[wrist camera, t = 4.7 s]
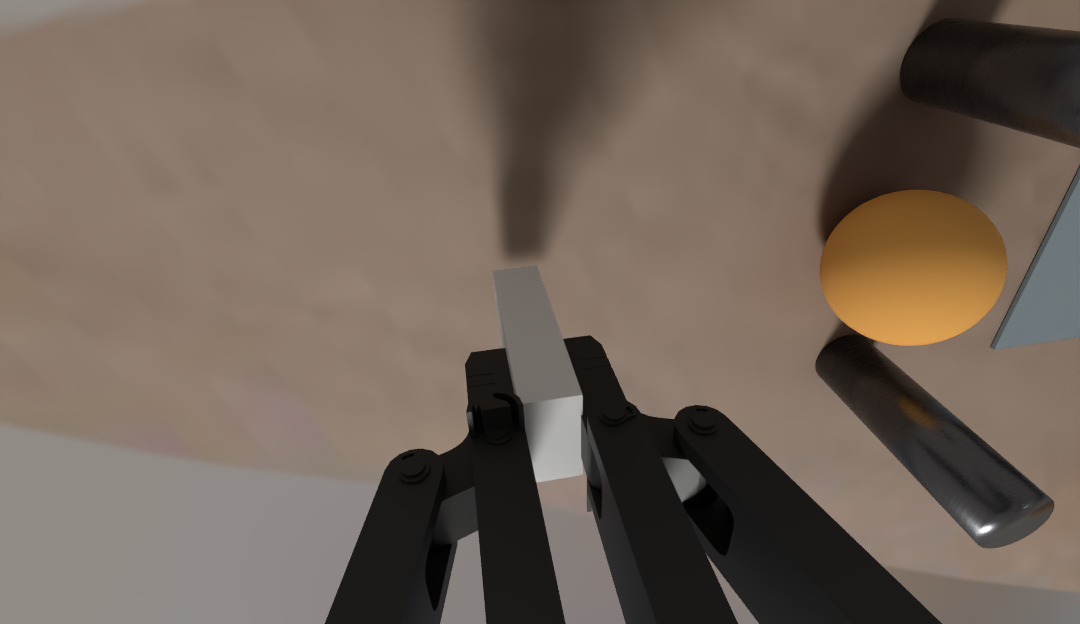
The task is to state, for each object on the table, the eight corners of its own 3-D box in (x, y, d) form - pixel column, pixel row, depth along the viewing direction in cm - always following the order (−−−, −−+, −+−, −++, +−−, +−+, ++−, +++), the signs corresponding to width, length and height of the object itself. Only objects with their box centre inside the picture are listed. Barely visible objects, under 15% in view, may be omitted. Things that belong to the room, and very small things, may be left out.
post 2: (876, 331, 25) (1068, 489, 17) (860, 376, 26) (1032, 540, 19) (822, 338, 25) (995, 503, 17) (810, 383, 26) (964, 553, 18)
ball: (1022, 179, 19) (1056, 241, 15) (962, 313, 22) (978, 395, 18) (845, 161, 21) (834, 211, 17) (813, 284, 24) (797, 352, 20)
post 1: (986, 16, 18) (1380, 53, 11) (957, 98, 19) (1288, 183, 12) (914, 20, 18) (1268, 63, 10) (890, 104, 19) (1186, 195, 12)
